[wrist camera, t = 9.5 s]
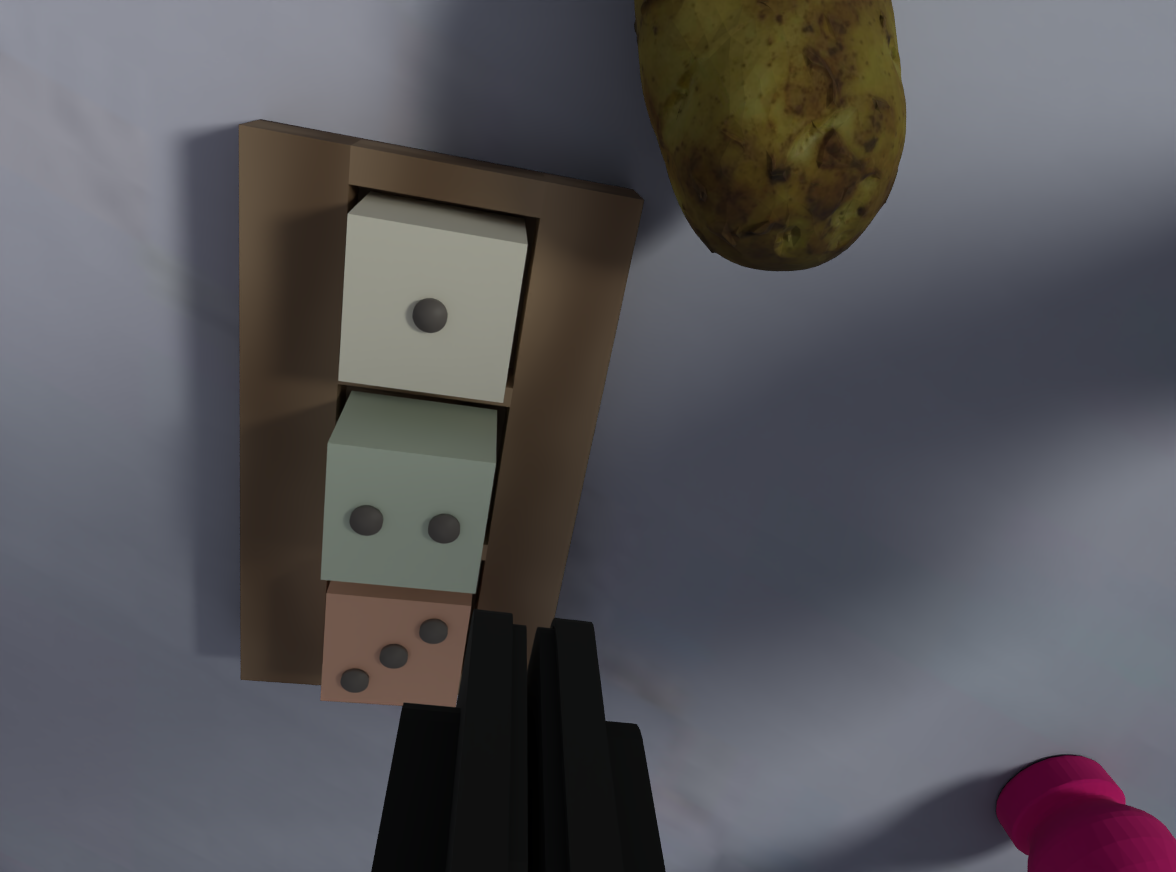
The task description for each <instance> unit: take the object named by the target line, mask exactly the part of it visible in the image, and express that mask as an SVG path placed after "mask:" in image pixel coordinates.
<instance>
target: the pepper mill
mask: <svg viewBox="0 0 1176 872" xmlns="http://www.w3.org/2000/svg"><path fill="white" fill-rule="evenodd" d="M996 814H997V817H998V820H999V822H1000V823H1001V825H1002V826H1003V828H1004V829H1005V831H1006V832H1007V834H1008V835H1009V837H1010V839H1011V840H1012V842H1013V843H1014V845H1015V846H1016V847H1017V849H1018V850H1020V851H1021V852H1023V853H1024V854H1026V855H1029V857H1028V872H1176V840H1175V838H1174V837H1173V836H1172V834H1171V833H1170V832H1169V830H1168V829H1167V827H1166V826H1165V825H1164V824H1162V823H1161V822H1160V821H1159V820H1158V819H1156V818H1155V817H1154V816H1152V815H1150V814H1148V813H1146V812H1145V811H1142V810H1140V809H1137V808H1134V807H1131V806H1128V805H1125V796H1124V794H1123V792H1122V790H1121V789H1120V788H1119V787H1118V785H1117V784H1116V783H1115V782H1114V781H1113V779H1112V778H1111V777H1110V776H1109V775H1108V774H1107V772H1106V771H1105V770H1104V769H1103V768H1102V766H1101V765H1100V764H1098V763H1097V762H1095V761H1094V760H1091V759H1089V758H1086V757H1083V756H1073V755H1064V756H1058V757H1052V758H1048V759H1045V760H1043V761H1040V762H1038V763H1035V764H1033V765H1031V766H1029V767H1027V768H1026V769H1024V770H1022V771H1021V772H1019V773H1018V774H1017V775H1016V776H1015V777H1013V778H1012V779H1011V780H1010V781H1009V782H1008V783H1007V784H1006V786H1005V787H1004V788H1003V790H1002V791H1001V793H1000V795H999V797H998V800H997V806H996Z"/></svg>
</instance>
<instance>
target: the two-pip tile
mask: <svg viewBox="0 0 1176 872" xmlns="http://www.w3.org/2000/svg"><path fill="white" fill-rule="evenodd" d="M496 442H497V410H493V409H486V408H478V407H471V406H463V405H456V404H448V403H441V402H433V401H426V400H418V399H411V398H403V397H396V396H388V395H381V394H373V393H366V392H358V391H351V393H350V396H349V398H348V400H347V402H346V404H345V406H344V409H343V411H342V413H341V415H340V417H339V419H338V422H337V424H336V426H335V428H334V430H333V432H332V435H331V437H330V439H329V441H328V446H327V466H326V485H325V505H324V524H323V544H322V563H321V580H330V581H341V582H352V583H363V584H374V585H385V586H396V587H407V588H418V589H429V590H440V591H451V592H462V593H473V594H476V587H477V581H478V575H479V568H480V562H481V556H482V549H483V543H484V537H485V530H486V524H487V518H488V511H489V505H490V499H491V492H492V486H493V480H494V473H495V467H496Z"/></svg>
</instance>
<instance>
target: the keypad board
mask: <svg viewBox="0 0 1176 872" xmlns="http://www.w3.org/2000/svg"><path fill="white" fill-rule="evenodd" d="M370 191H371V192H377V193H383V194H388V195H394V196H399V197H405V198H411V199H416V200H422V201H428V202H433V203H439V204H445V205H450V206H456V207H461V208H467V209H473V210H478V211H484V212H490V213H495V214H501V215H507V216H512V217H518V218H524V219H525V227H526V234H527V242H528V246H527V253H526V259H525V266H524V272H523V278H522V285H521V291H520V298H519V304H518V310H517V317H516V323H515V330H514V336H513V342H512V349H511V355H510V362H509V368H508V374H507V381H506V387H505V394H504V400H503V403H499V402H492V401H484V400H477V399H469V398H462V397H455V396H447V395H440V394H432V393H425V392H418V391H410V390H403V389H395V388H388V387H381V386H373V385H366V384H358V383H351V382H343V381H338V378H339V360H340V342H341V324H342V306H343V288H344V270H345V252H346V234H347V216H348V213H349V212H350V211H351V210H352V209H353V208H354V207H355V206H356V205H357V204H358V203H359V202H360V201H361V200H362V199H363V198H364V197H365V196H366V195H367V194H368V193H369V192H370ZM643 204H644V199H643V198H642V197H641V196H639V195H638V194H637V193H636V192H635V191H634V190H633V189H628V188H623V187H617V186H612V185H607V184H601V183H596V182H591V181H585V180H580V179H575V178H570V177H564V176H559V175H554V174H548V173H543V172H538V171H532V170H527V169H522V168H517V167H511V166H506V165H501V164H495V163H490V162H485V161H479V160H474V159H469V158H463V157H458V156H453V155H448V154H442V153H437V152H432V151H426V150H421V149H416V148H410V147H405V146H400V145H395V144H389V143H384V142H379V141H373V140H368V139H363V138H357V137H352V136H347V135H341V134H336V133H331V132H326V131H320V130H315V129H310V128H304V127H299V126H294V125H288V124H283V123H278V122H273V121H267V120H262V119H260V120H256V121H252V122H247V123H243V124H239V330H240V629H241V680H252V681H266V682H281V683H295V684H310V685H321V682H322V664H323V646H324V628H325V610H326V593H327V590H328V587H329V584H330V580H321V563H322V544H323V524H324V505H325V485H326V466H327V446H328V441H329V439H330V437H331V435H332V432H333V430H334V428H335V426H336V424H337V422H338V419H339V417H340V415H341V413H342V411H343V409H344V406H345V404H346V402H347V400H348V398H349V396H350V393H351V391H358V392H366V393H373V394H381V395H388V396H396V397H403V398H411V399H418V400H426V401H433V402H441V403H448V404H456V405H463V406H471V407H478V408H486V409H493V410H497V442H496V467H495V473H494V480H493V486H492V492H491V499H490V505H489V511H488V518H487V524H486V530H485V537H484V543H483V549H482V556H481V562H480V568H479V575H478V581H477V587H476V594H473V593H472V603H471V611H470V618H469V624H468V631H467V637H466V643H465V650H464V656H463V663H462V669H461V675H460V682H459V688H460V683H461V677H462V671H463V666H464V660H465V654H466V648H467V643H468V637H469V631H470V626H471V620H472V615H473V610H474V609H480V610H489V611H497V612H506V613H512V614H513V624H518V625H526V627H527V669H528V664H529V660H530V655H531V651H532V646H533V642H534V637H535V633H536V630H537V627H545V628H550V626H551V623H552V620H553V619H554V617H555V612H556V607H557V603H558V598H559V594H560V589H561V584H562V580H563V575H564V570H565V566H566V561H567V556H568V552H569V547H570V542H571V538H572V533H573V529H574V524H575V519H576V515H577V510H578V505H579V501H580V496H581V491H582V487H583V482H584V477H585V473H586V468H587V464H588V459H589V454H590V450H591V445H592V440H593V436H594V431H595V426H596V422H597V417H598V412H599V408H600V403H601V399H602V394H603V389H604V385H605V380H606V375H607V371H608V366H609V361H610V357H611V352H612V347H613V343H614V338H615V334H616V329H617V324H618V320H619V315H620V310H621V306H622V301H623V296H624V292H625V287H626V282H627V278H628V273H629V269H630V264H631V259H632V255H633V250H634V245H635V241H636V236H637V231H638V227H639V222H640V217H641V213H642V208H643ZM459 688H458V694H459Z"/></svg>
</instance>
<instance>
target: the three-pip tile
mask: <svg viewBox="0 0 1176 872" xmlns="http://www.w3.org/2000/svg"><path fill="white" fill-rule="evenodd" d="M471 603H472V593H462V592H451V591H440V590H429V589H418V588H407V587H396V586H385V585H374V584H363V583H352V582H341V581H330V584H329V587H328V590H327V593H326V610H325V628H324V646H323V664H322V682H321V700H320V701H335V702H350V703H366V704H381V705H396V706H403V703H404V702H405V703H416V704H426V705H437V706H448V707H456V701H457V695H458V688H459V682H460V675H461V669H462V663H463V656H464V650H465V643H466V637H467V631H468V624H469V618H470V611H471Z"/></svg>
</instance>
